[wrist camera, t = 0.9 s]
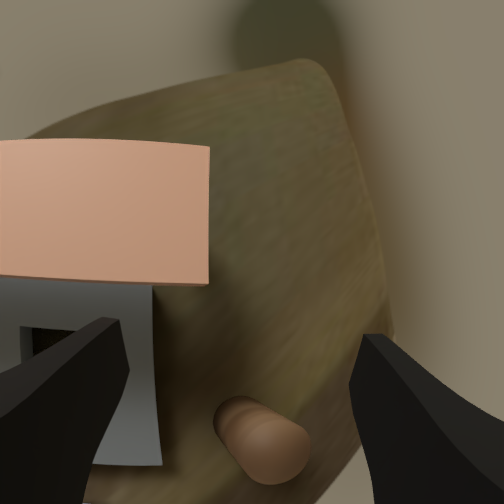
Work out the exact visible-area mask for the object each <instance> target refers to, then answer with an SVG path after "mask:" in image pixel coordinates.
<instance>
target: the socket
mask: <svg viewBox="0 0 504 504" xmlns="http://www.w3.org/2000/svg"><path fill="white" fill-rule="evenodd" d="M100 317H108V318H115V319H119V320H120V325H121V330H122V335H123V340H124V345H125V350H126V354H127V359H128V363H129V368H130V372H129V376H128V379H127V382H126V386H125V389H124V392H123V395H122V398H121V400H120V402H119V404H118V406H117V409H116V411H115V413H114V415H113V417H112V419H111V421H110V424H109V426H108V428H107V430H106V432H105V434H104V437H103V439H102V441H101V443H100V445H99V448H98V450H97V452H96V455H95V458H94V460H93V463H92V464H106V465H137V466H149V465H163V464H162V456H161V448H160V439H159V429H158V419H157V407H156V394H155V379H154V360H153V329H152V285H128V284H103V283H82V282H63V281H46V280H31V279H16V278H3V277H0V373H2V372H4V371H6V370H9V369H11V368H13V367H15V366H17V365H19V364H21V363H23V362H25V361H26V360H28V359H30V358H32V357H33V344H32V327H34V328H45V329H58V330H71V331H77V330H79V329H81V328H82V327H84V326H86V325H87V324H89V323H91V322H93V321H94V320H96V319H98V318H100Z"/></svg>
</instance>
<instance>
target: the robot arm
mask: <svg viewBox="0 0 504 504" xmlns="http://www.w3.org/2000/svg"><path fill="white" fill-rule="evenodd" d="M129 372H130V368H129V363H128V359H127V354H126V350H125V345H124V340H123V335H122V330H121V325H120V320H119V319H115V318H108V317H100V318H98V319H96V320H94V321H93V322H91V323H89V324H87V325H86V326H84V327H82V328H81V329H79V330H77V331H76V332H74V333H73V334H71V335H69V336H68V337H66V338H64V339H63V340H61V341H59V342H58V343H56V344H55V345H53V346H51V347H50V348H48V349H46V350H44V351H42V352H41V353H39V354H37V355H35V356H34V357H32V358H30V359H28V360H26V361H25V362H23V363H21V364H19V365H17V366H15V367H13V368H11V369H9V370H6V371H4V372H2V373H0V504H86V503H82V502H83V497H84V493H85V489H86V484H87V481H88V477H89V474H90V470H91V467H92V463H93V460H94V458H95V455H96V452H97V450H98V448H99V445H100V443H101V441H102V439H103V437H104V434H105V432H106V430H107V428H108V426H109V424H110V421H111V419H112V417H113V415H114V413H115V411H116V409H117V406H118V404H119V402H120V400H121V398H122V395H123V392H124V389H125V386H126V382H127V379H128V376H129ZM349 390H350V397H351V403H352V410H353V414H354V418H355V421H356V425H357V428H358V432H359V435H360V439H361V442H362V446H363V449H364V453H365V456H366V460H367V463H368V467H369V471H370V476H371V480H372V486H373V494H374V503H375V504H504V422H503V421H501V420H499V419H497V418H495V417H493V416H491V415H490V414H488V413H486V412H484V411H483V410H481V409H480V408H478V407H476V406H475V405H473V404H471V403H470V402H468V401H467V400H465V399H464V398H462V397H461V396H459V395H458V394H456V393H455V392H454V391H452V390H451V389H450V388H448V387H447V386H446V385H444V384H443V383H442V382H440V381H439V380H438V379H437V378H435V377H434V376H433V375H432V374H430V373H429V372H428V371H427V370H426V369H424V368H423V367H422V366H421V365H420V364H418V363H417V362H416V361H415V360H414V359H412V358H411V357H410V356H409V355H408V354H407V353H405V352H404V351H403V350H402V349H401V348H400V347H398V346H397V345H396V344H395V343H394V342H392V341H391V340H390V339H389V338H387V337H386V336H385V335H383V334H363V338H362V342H361V345H360V349H359V352H358V356H357V359H356V362H355V366H354V369H353V372H352V375H351V379H350V382H349Z"/></svg>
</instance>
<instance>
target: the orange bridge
mask: <svg viewBox="0 0 504 504" xmlns="http://www.w3.org/2000/svg"><path fill="white" fill-rule="evenodd" d="M209 155H210V147H207V146H198V145H188V144H177V143H165V142H151V141H134V140H113V139H25V140H6V141H0V277H3V278H16V279H31V280H46V281H63V282H82V283H103V284H128V285H159V286H203V287H204V286H206V285H207V284H209V275H208V207H209Z"/></svg>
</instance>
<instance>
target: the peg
mask: <svg viewBox="0 0 504 504" xmlns="http://www.w3.org/2000/svg"><path fill="white" fill-rule="evenodd" d="M213 426H214V430H215V432H216V434H217V435H218V437H219V438H220V440H221V441H222V442H223V444H224V445H225V446H226V448H227V449H228V450H229V452H230V453H231V454H232V455H233V457H234V458H235V459H236V461H237V462H238V463H239V464H240V466H241V467H242V468H243V469H244V471H245V472H246V473H247V474H248V476H249V477H250V478H252V479H253V480H254V481H256V482H258V483H261V484H266V485H275V484H280V483H284V482H286V481H288V480H290V479H292V478H294V477H295V476H296V475H298V474H299V473H300V472H301V471H302V470H303V468H304V467H305V466H306V464H307V462H308V460H309V457H310V454H311V440H310V438H309V435H308V434H307V432H306V431H305V430H304V429H303V428H302V427H300V426H299V425H297V424H295V423H293V422H292V421H290V420H288V419H286V418H285V417H283V416H281V415H280V414H278V413H276V412H275V411H273V410H271V409H269V408H268V407H266V406H265V405H263V404H261V403H260V402H258V401H256V400H255V399H253V398H250V397H247V396H237V397H233V398H230V399H228V400H226V401H225V402H223V403H222V404H221V405H220V406H219V407H218V409H217V410H216V412H215V415H214V419H213Z"/></svg>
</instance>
